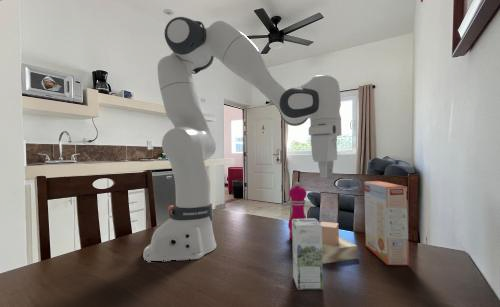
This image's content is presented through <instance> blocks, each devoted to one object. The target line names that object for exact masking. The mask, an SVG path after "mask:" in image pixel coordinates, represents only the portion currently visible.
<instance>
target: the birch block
mask: <svg viewBox="0 0 500 307" xmlns="http://www.w3.org/2000/svg"><path fill="white" fill-rule="evenodd" d="M358 254H359V253H358V245H356V244H355V243H353V242H351V241H349V240H347V239H345V238H343V237H341V236H339V240H338V243H337V245H331V244H324V243H322V265H323V264H329V263H337V262H341V261H348V260H349V261H350V260H355V259H356V260H357V259H358V256H359V255H358Z"/></svg>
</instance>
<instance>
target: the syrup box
mask: <svg viewBox="0 0 500 307" xmlns="http://www.w3.org/2000/svg"><path fill="white" fill-rule="evenodd" d="M320 223H321V222H319V220H318V219H316V218H307V219H292V239H291V240H292V244H291V245H292V246H291V247H292V250H291V251H292V278H293V281H294V284H295V286H296V288H297V291H304V290H305V291H309V290H324V289H323V288H324V284H323V283H324V282H323V281H324V279H323V278H324V276H323V272H324V271H323V268H324V267H323V263H322V226H321V224H320Z"/></svg>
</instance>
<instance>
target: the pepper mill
mask: <svg viewBox="0 0 500 307" xmlns="http://www.w3.org/2000/svg"><path fill="white" fill-rule="evenodd" d="M288 195H289V197H290V204H291V207H292V211H291V215H290V218H289V219H288V220H289V221H288V224H287V226H288V229H289V230H290V233H289V239H290V240H292V219H308V218H307V216H306V214H305V208H304V207H305V205H306V200H305V198H306V197H307V191H306V189H305V188H304V187H303V186H301V183H300V181H299V182H298V181H295V183H294V186H293V187H291V188H290V189H289V193H288Z"/></svg>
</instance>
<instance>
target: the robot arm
mask: <svg viewBox="0 0 500 307" xmlns="http://www.w3.org/2000/svg"><path fill="white" fill-rule="evenodd" d="M164 39H165V43H167V46H168V47H169V49H170V51H172V52H171V54H170V55H166V56H164V57H162V58H160V60H159V61H158V63H157V78H158V85H159V90H160V94H161V99H162V102H163V107H164V110H165V114H166V116H167V118H168V119H169V120H170V122H171V123H172V125H173V126H174V127H173V128H171V129H169V130H168V131H167V132H166V133H165V134H164V135H163V137H162V140H161V148H162V152H163V154H164V155H165V156H166V157H167V159H168V161H169V164H170V167H171V169H172V173H173V174H172V175H173V178H174V185H175V186H174V187H175V188H174V190H175V205H169V206H168V207H167V208H168V209H167V210H168V213H169V218H168V219H167V220H166V221H165V222H164V223H162V224H161V225H159V226H158V227H157V229H155V231H154V232H153V234H152V236H151V241H150V244H148V245H147V246H146V247H145V248H144V249H143V254H142V259H143V258H144V259H143V260H144V261H145V260H146V261H147V262H146V261H145V262H146V263H152V262H151V261H162V262H172V261H171V260H176V261H188V260H189V259H190V260H199V259H201V258H203V257H204V255H206V254H208V253H210V252H213V251H215V249H216V248H217V242H216V239H215V234H214V229H213V223H212V221H213V217H214V216H213V204H212V203H211V180H210V176H208V172H207V170H206V169H207V168H206V164H205V161H207V160H208V159H210V158H211V157H212V156H214V154H215V153H216V152H215V151H216V149H217V144H216V143H217V142H216V141H215V139H214V138H213V135H212V133H211V131H210V129H209V126H208V124H207V121H206V119H205V117H204V114H203V112H202V108H201V106H200V103H199V98H198V95H197V90H196V87H195V83H194V79H193V75H196V74H198V73H199V72H201V71H203V70H207V69H208V68H209V67H210V66H211V65H212V64H213V61H214V58H216V60H219V62H221V63H222V65H224V66H225V67H226V68H227V69H229V70H230V71H231V72H232V73H233V74H235V75H236V76H237V77H239V78H241V79H243V81H245V82H247V83H248V84H250V85H252V86H253V87H254V88H255V89H257V90H258V91H259V92H260V93H262V95H264V96H265V97H266V98H267V99H268V100H269V101H270V102H271V103H272V104H273V105H274V106H275V107H276V108H277V110H278V112H279V114H280V117H281V118H282V120H283V122H284V123H285V124H287V125H289V126H293V127H298V126H301V125H303V124H305V123H306V122H307V121H308V119H310V126H309V127H308V135H309V136H310V145H311V146H310V148H311V156H312V160H313V162H315V163H318V169H319V178H320V179H326V178H328V176H332V175H333V174H334V161H336V160H337V159H338V147H337V144H338V143H337V142H338V137H340V136H342V117H341V114H340V113H341V112H340V110H341V106H342V103H341V89H340V85H339V82H338V79H336V77H333V76H331V75H326V74H319V75H314V76H313V77H311V78H310V79H309V80H308V81H307V82H305V83H303V84H300V85H298V86H295V87H291V88H289V89H286V88H285V87H283V85H282V84H281V83H279V82H278V80H276V79H275V78H274V77H273V75H272V74H271V73H270V70H269V69H268V67H267V64H266V63H265V61H264V58H263V56H262V53H261V52H260V50H259V49H258V47H257V46H256V45H255V43H254V42H253V41H252V40H251V39H249V38H248V37H247V36H246V35H245V34H244V33H243V32H241V31H240V30H238V28H235V27H234V26H233V25H231V24H230V23H228V22H225V21H223V20H216V21H214V22H213V23H212V24H211V25H209V26H208V27H206V26H205V25H204V23H203V22H202V21H199V20H194V19H191V18H188V17H184V16H178V17H174V18H172V19H170V21H169V22H167V24H166V26H165V28H164ZM192 74H193V75H192ZM163 260H164V261H163Z"/></svg>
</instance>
